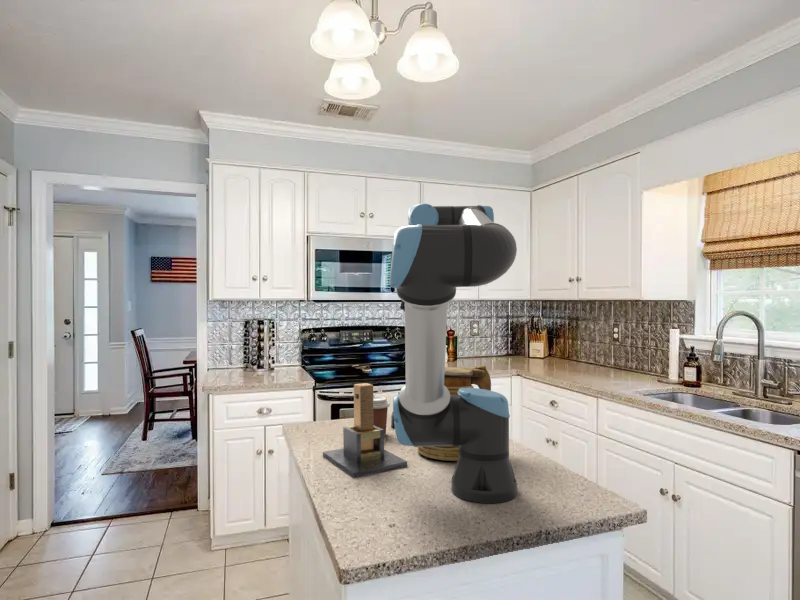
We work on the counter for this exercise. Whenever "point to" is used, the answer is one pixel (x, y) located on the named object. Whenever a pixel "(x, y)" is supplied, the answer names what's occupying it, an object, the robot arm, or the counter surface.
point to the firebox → (365, 462)
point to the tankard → (453, 383)
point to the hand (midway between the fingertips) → (422, 335)
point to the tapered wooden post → (364, 413)
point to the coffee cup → (380, 412)
